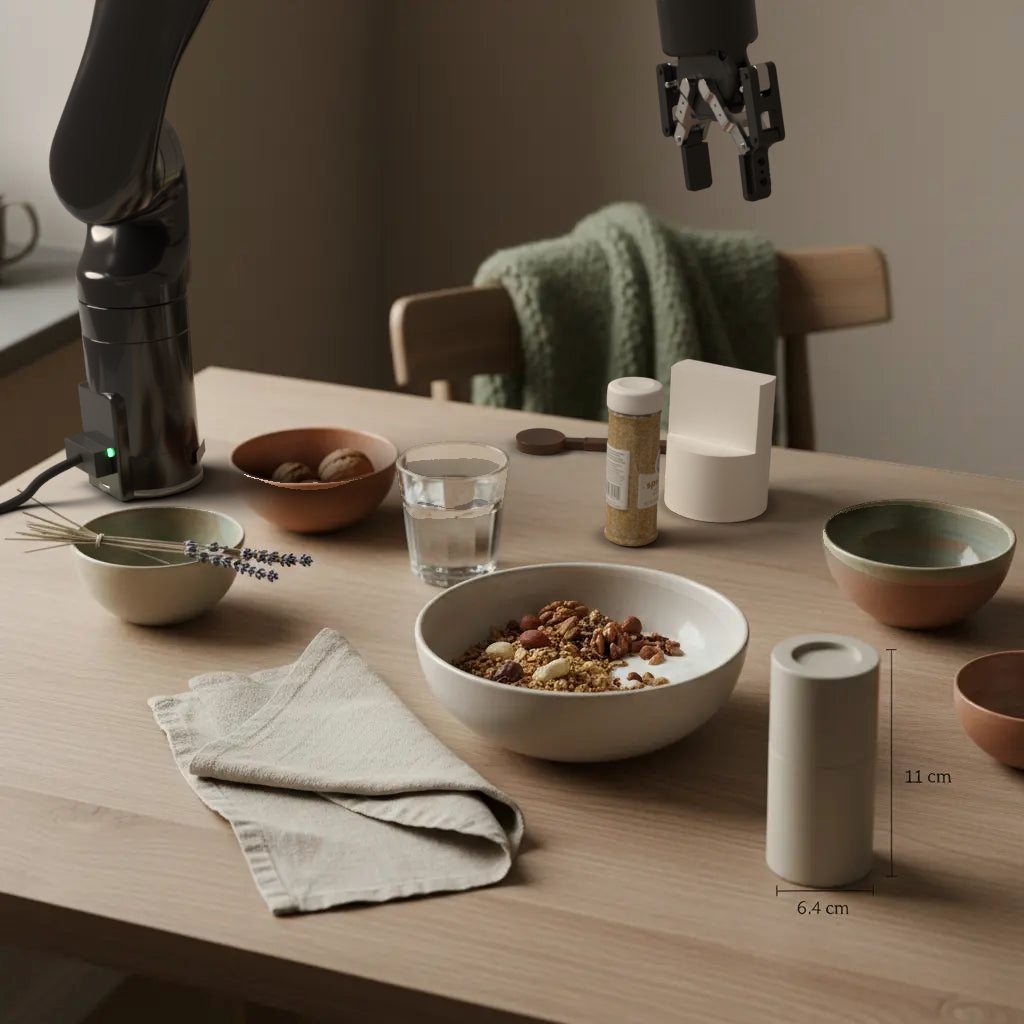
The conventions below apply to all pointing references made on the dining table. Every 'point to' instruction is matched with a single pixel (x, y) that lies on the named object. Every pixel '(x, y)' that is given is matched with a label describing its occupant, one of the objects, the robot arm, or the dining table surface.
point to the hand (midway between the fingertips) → (728, 194)
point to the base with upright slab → (718, 442)
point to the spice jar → (633, 460)
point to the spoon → (560, 442)
